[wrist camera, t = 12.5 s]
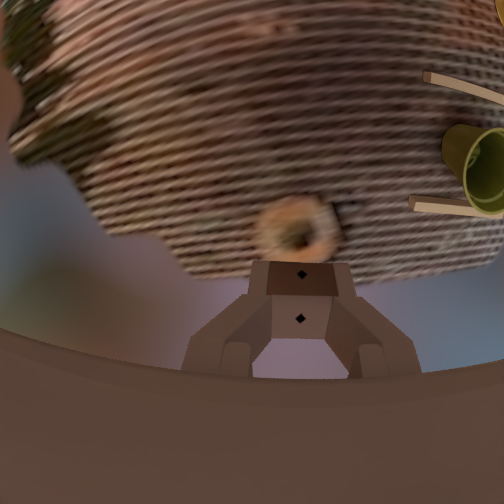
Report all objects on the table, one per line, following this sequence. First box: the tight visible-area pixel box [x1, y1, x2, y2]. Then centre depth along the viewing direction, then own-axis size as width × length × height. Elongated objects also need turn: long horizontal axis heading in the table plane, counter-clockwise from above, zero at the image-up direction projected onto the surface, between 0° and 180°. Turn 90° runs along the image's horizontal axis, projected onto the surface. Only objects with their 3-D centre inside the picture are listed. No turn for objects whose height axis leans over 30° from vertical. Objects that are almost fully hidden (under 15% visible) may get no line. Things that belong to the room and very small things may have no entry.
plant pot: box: [441, 124, 504, 215], centre depth 25 cm, size 9×9×9 cm
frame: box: [408, 71, 504, 219], centre depth 27 cm, size 16×15×2 cm
